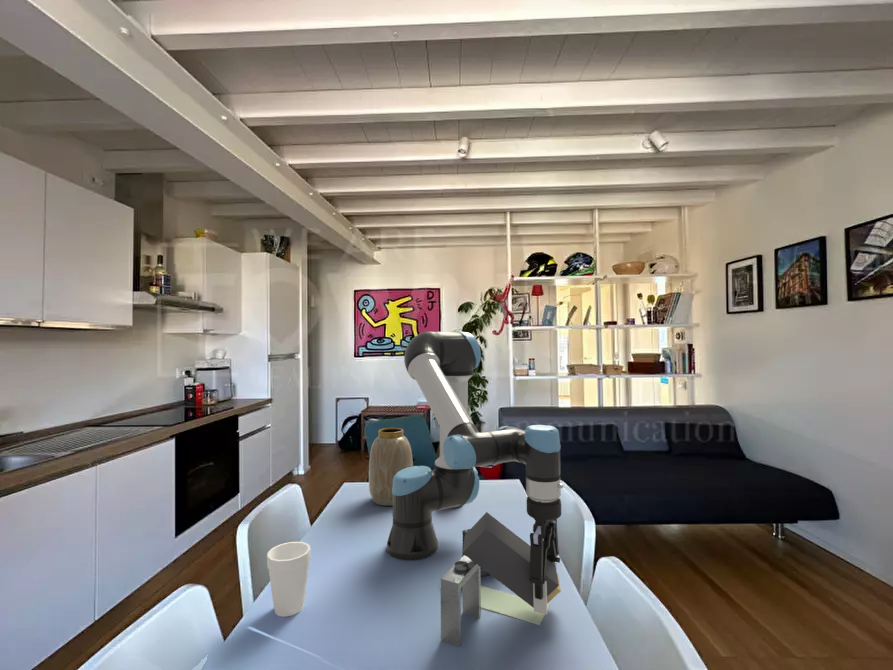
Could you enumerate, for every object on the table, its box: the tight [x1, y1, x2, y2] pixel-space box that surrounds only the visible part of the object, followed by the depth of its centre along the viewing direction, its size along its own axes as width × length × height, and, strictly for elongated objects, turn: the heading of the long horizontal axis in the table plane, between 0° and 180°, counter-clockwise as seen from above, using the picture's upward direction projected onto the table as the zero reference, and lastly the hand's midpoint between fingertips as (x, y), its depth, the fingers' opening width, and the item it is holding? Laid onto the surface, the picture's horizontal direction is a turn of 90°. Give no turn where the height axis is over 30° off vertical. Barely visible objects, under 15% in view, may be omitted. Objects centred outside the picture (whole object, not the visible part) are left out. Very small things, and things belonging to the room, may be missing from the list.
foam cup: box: [266, 541, 311, 618], centre depth 100 cm, size 10×9×13 cm
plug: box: [462, 511, 562, 608], centre depth 96 cm, size 22×6×8 cm
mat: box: [481, 585, 550, 626], centre depth 100 cm, size 18×8×1 cm, turn 62°
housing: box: [440, 555, 482, 648], centre depth 92 cm, size 4×11×13 cm, turn 152°
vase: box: [368, 427, 414, 507], centre depth 169 cm, size 17×17×27 cm
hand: (545, 601), depth 95 cm, fingers closed on plug, 8 cm apart
